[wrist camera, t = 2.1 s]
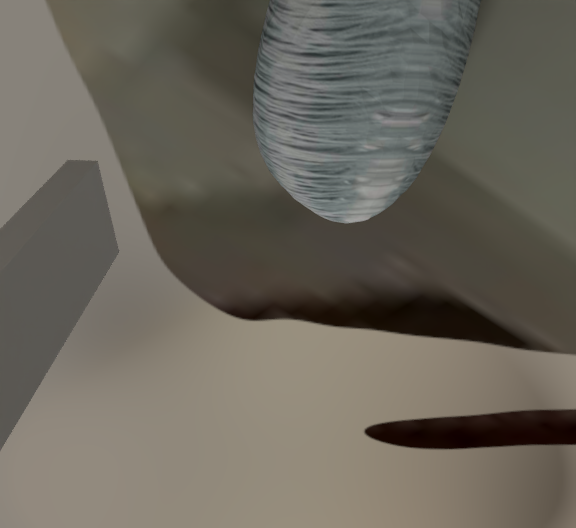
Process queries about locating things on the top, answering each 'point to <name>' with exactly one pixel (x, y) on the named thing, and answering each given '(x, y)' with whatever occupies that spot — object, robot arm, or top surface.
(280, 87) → the grey streaked egg shape
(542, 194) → the top surface
